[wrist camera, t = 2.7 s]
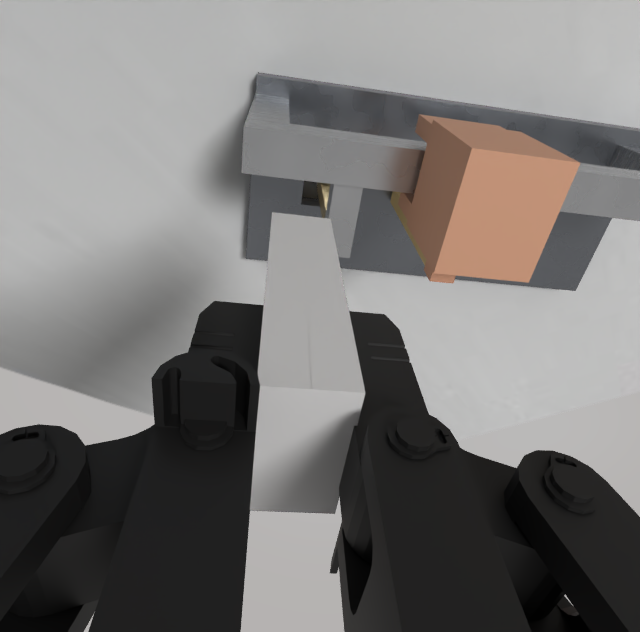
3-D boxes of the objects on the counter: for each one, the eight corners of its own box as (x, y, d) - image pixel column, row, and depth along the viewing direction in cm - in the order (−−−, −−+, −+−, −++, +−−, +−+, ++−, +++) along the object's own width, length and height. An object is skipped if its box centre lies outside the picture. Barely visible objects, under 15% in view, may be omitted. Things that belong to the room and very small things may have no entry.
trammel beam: (251, 183, 32) (237, 249, 23) (256, 91, 29) (243, 126, 20) (597, 224, 35) (701, 295, 26) (635, 145, 32) (769, 196, 23)
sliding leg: (368, 200, 32) (419, 319, 20) (391, 88, 28) (472, 147, 16) (424, 207, 32) (509, 327, 20) (454, 97, 28) (580, 162, 16)
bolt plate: (247, 249, 35) (246, 258, 34) (258, 72, 29) (256, 75, 27) (566, 281, 38) (575, 290, 37) (639, 128, 32) (653, 133, 31)
